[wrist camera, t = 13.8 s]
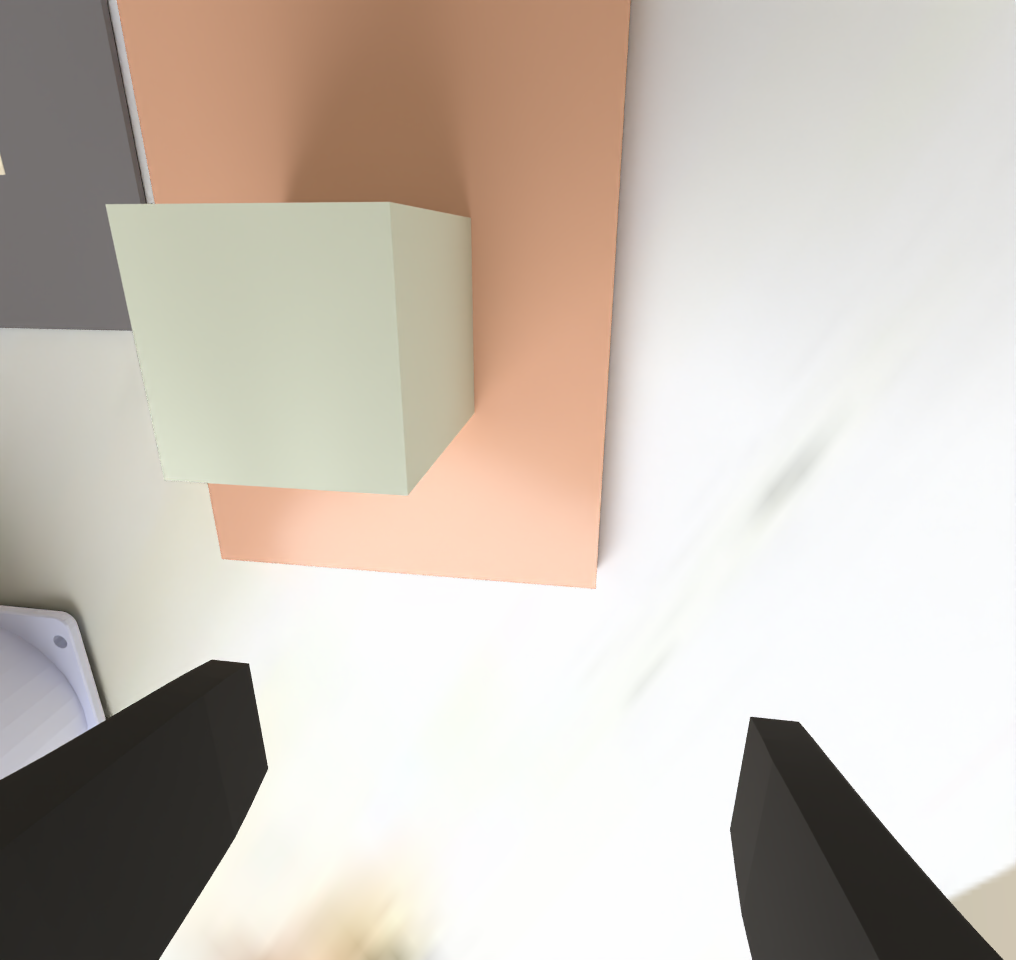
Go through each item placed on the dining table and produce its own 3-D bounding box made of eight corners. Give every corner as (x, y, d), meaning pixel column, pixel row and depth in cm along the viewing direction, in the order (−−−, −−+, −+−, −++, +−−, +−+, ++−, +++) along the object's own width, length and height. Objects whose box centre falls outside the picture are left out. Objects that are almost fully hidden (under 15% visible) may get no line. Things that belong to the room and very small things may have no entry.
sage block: (474, 412, 15) (407, 496, 10) (305, 405, 16) (164, 480, 11) (471, 217, 14) (389, 201, 9) (283, 219, 14) (105, 203, 9)
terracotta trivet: (596, 570, 18) (595, 589, 17) (240, 543, 19) (222, 559, 18) (632, -33, 12) (633, -55, 12) (145, -2, 14) (112, -19, 13)
